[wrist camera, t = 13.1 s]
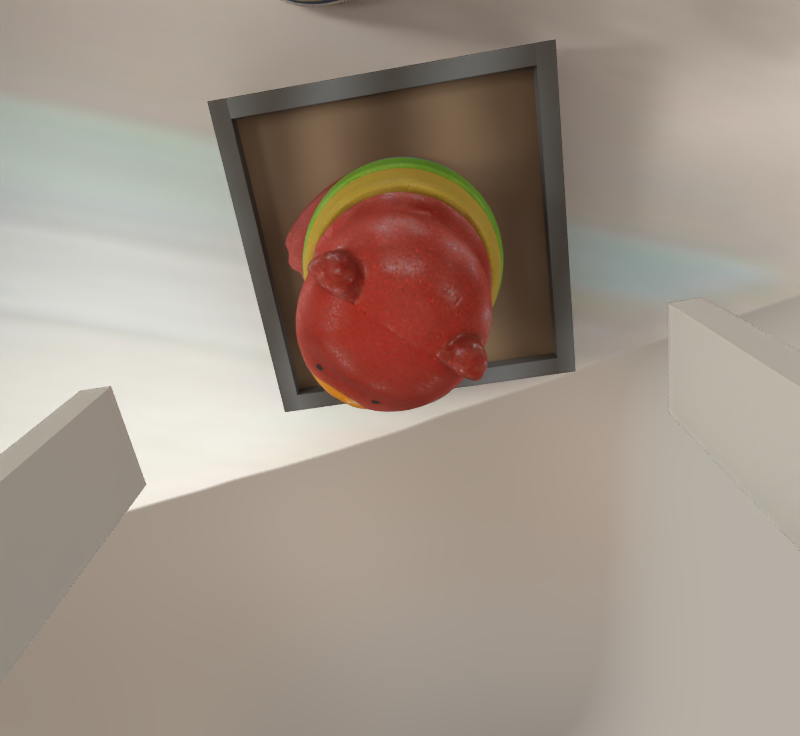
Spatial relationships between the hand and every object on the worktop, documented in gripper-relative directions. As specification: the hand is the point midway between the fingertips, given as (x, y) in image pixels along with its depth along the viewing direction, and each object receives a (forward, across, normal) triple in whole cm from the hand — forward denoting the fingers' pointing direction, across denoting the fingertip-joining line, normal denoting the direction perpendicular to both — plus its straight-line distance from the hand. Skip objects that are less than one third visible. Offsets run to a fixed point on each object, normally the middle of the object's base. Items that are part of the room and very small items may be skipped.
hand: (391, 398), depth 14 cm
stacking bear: (+22, 0, 0) cm, 22 cm away
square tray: (+26, 0, 0) cm, 26 cm away
